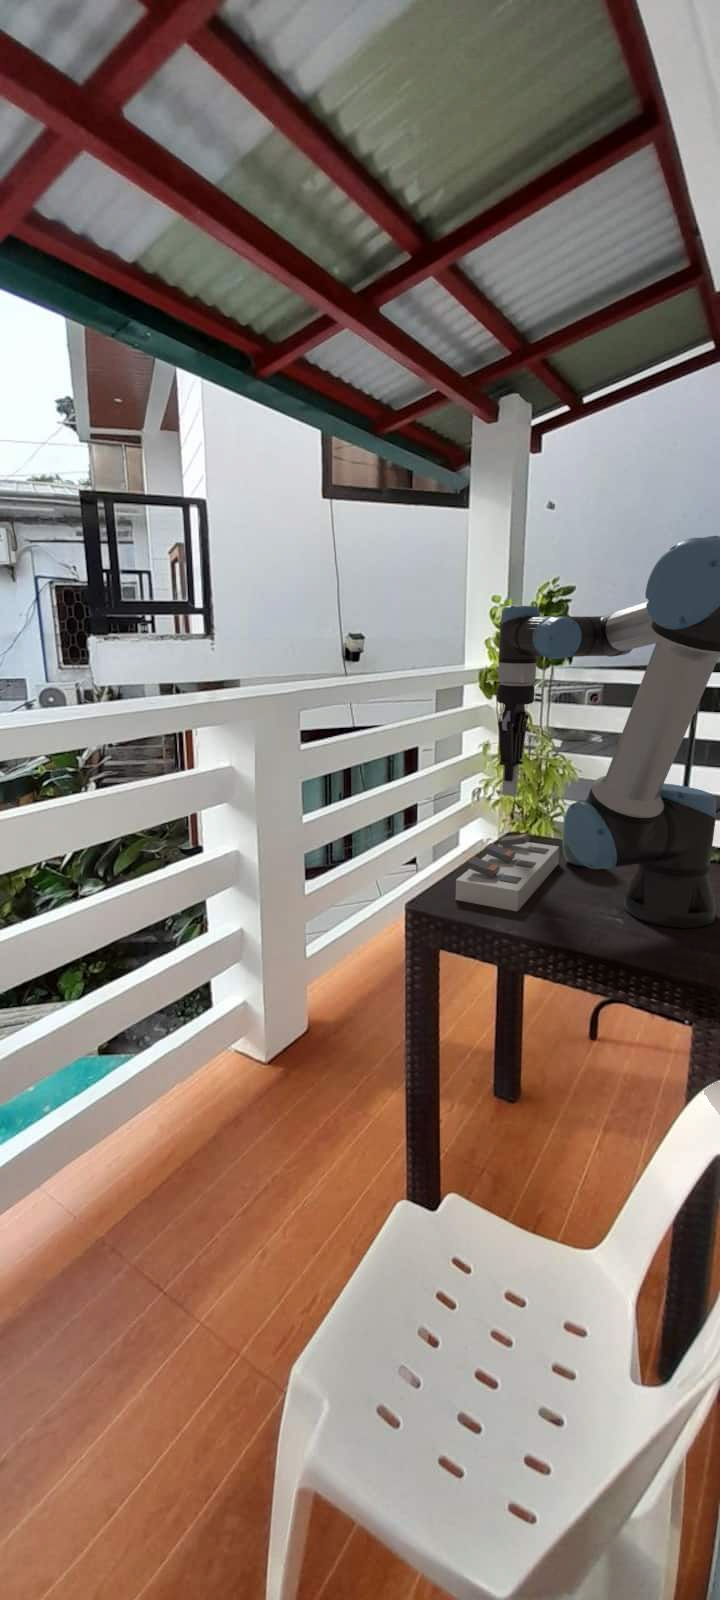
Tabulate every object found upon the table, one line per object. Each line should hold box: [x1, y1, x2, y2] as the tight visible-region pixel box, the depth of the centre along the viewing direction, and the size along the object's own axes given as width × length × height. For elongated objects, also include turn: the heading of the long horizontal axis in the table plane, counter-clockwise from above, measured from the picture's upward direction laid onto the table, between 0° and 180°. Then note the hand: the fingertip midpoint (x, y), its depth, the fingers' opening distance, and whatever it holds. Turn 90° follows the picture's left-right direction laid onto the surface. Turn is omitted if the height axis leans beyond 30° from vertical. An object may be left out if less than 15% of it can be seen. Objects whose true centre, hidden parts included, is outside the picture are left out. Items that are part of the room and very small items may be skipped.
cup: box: [562, 818, 585, 867], centre depth 152 cm, size 8×8×10 cm
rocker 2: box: [483, 842, 516, 863], centre depth 143 cm, size 6×4×1 cm, turn 61°
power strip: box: [455, 841, 560, 912], centre depth 146 cm, size 12×39×4 cm, turn 151°
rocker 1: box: [465, 855, 500, 878], centre depth 134 cm, size 6×4×1 cm, turn 61°
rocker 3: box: [498, 833, 531, 846], centre depth 151 cm, size 6×4×1 cm, turn 60°
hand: (509, 794), depth 149 cm, fingers closed
